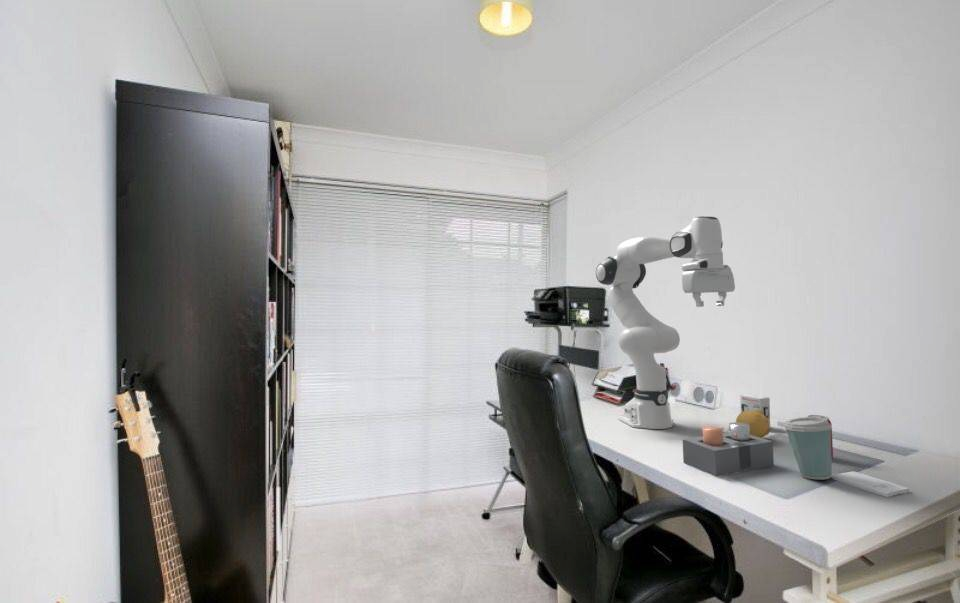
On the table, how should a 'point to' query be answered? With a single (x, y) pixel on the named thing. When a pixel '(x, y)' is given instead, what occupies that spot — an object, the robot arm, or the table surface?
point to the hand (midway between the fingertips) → (710, 306)
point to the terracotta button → (712, 436)
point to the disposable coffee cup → (811, 445)
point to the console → (728, 455)
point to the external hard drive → (870, 484)
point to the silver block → (739, 432)
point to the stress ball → (754, 422)
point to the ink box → (756, 404)
